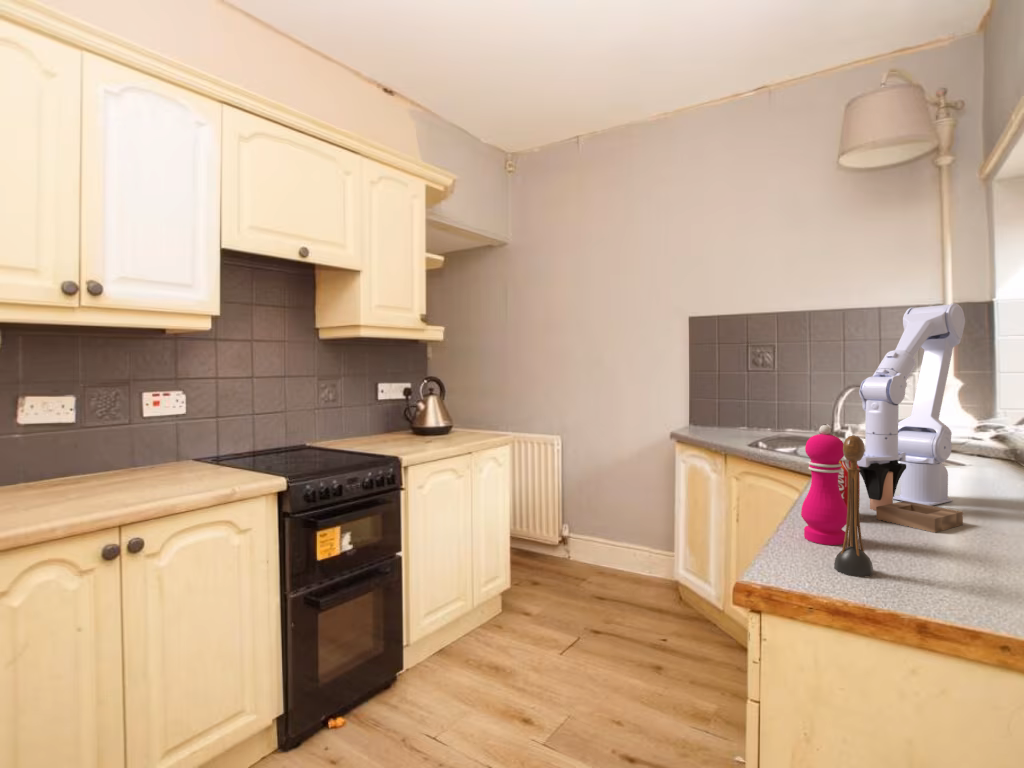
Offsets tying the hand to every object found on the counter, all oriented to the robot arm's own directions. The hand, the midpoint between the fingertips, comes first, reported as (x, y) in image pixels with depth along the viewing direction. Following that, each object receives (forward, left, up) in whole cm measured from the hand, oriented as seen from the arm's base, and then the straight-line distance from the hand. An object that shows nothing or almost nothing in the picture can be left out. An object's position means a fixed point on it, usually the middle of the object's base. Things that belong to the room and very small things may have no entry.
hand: (881, 497), depth 115 cm
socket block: (+4, +9, -2) cm, 10 cm away
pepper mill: (+30, +7, -3) cm, 31 cm away
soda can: (+13, -1, -3) cm, 13 cm away
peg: (0, 0, -2) cm, 2 cm away
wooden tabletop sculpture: (+40, +18, -3) cm, 44 cm away
